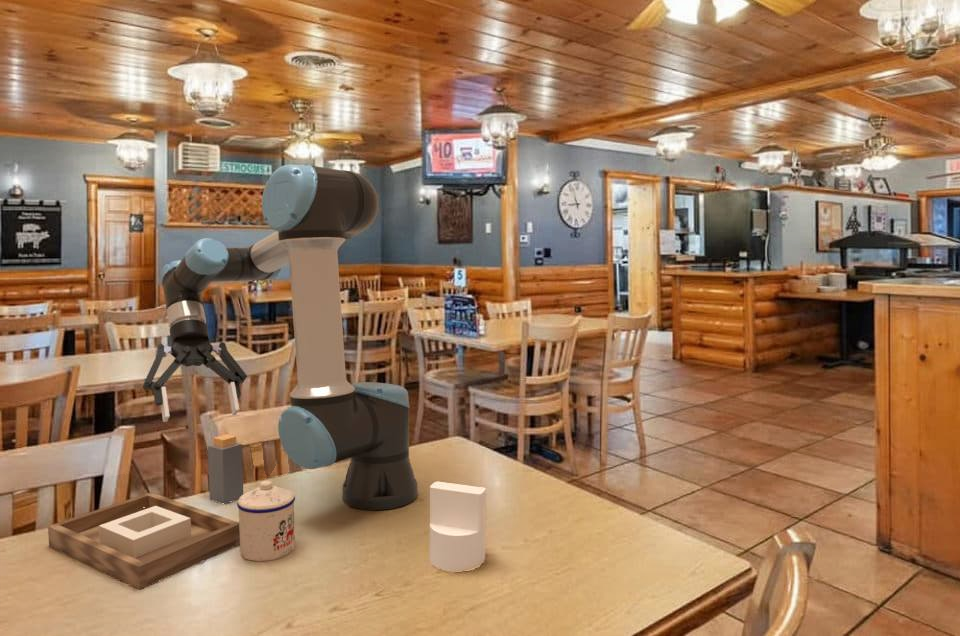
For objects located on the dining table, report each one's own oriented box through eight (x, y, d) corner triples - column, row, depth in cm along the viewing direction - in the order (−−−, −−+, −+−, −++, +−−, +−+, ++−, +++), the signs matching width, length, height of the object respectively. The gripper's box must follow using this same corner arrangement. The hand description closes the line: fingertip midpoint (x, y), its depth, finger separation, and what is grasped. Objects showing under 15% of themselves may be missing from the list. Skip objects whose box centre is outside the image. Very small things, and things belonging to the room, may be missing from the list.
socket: (191, 534, 111) (190, 518, 111) (134, 558, 103) (133, 540, 102) (156, 521, 116) (155, 505, 116) (99, 542, 108) (98, 525, 107)
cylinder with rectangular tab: (492, 551, 108) (493, 481, 107) (474, 576, 100) (474, 501, 99) (442, 543, 111) (442, 475, 110) (420, 567, 103) (420, 493, 102)
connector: (243, 497, 131) (241, 436, 129) (224, 504, 127) (222, 441, 126) (228, 492, 133) (227, 432, 132) (209, 499, 129) (207, 438, 128)
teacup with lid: (283, 564, 103) (281, 493, 102) (228, 561, 104) (226, 490, 103) (310, 532, 115) (309, 468, 114) (261, 529, 116) (259, 466, 115)
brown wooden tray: (241, 543, 110) (241, 523, 110) (139, 589, 95) (138, 566, 95) (151, 510, 124) (150, 492, 124) (49, 546, 109) (47, 526, 108)
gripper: (241, 333, 152) (257, 416, 144) (121, 336, 137) (131, 429, 129) (250, 317, 147) (267, 402, 139) (126, 318, 132) (137, 414, 124)
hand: (202, 415), depth 134 cm, fingers open, 13 cm apart
